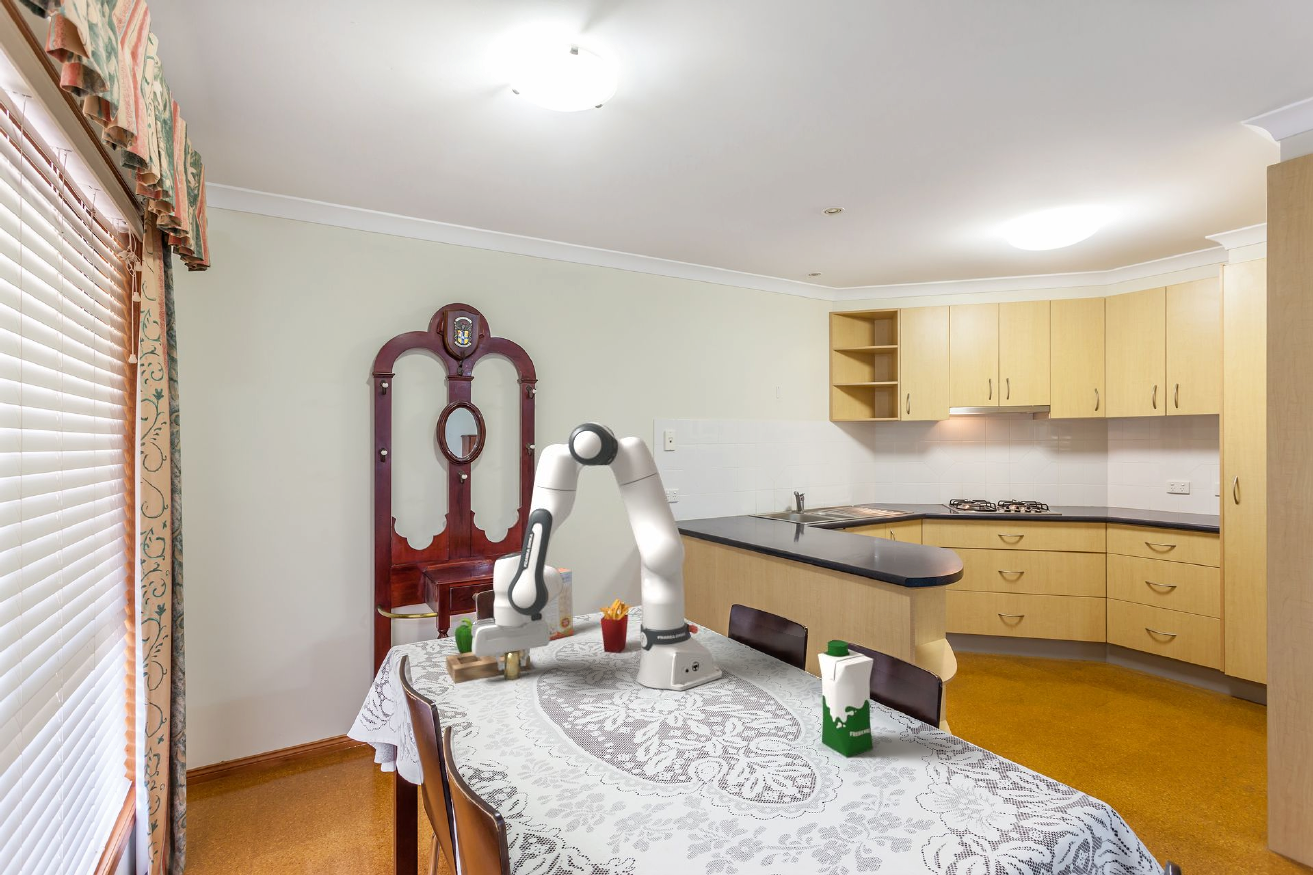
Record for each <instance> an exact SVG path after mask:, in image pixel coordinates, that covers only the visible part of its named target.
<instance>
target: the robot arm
mask: <svg viewBox="0 0 1313 875" xmlns="http://www.w3.org/2000/svg"><path fill="white" fill-rule="evenodd" d="M567 442H568V443H567V444H557V443H556V444H551V445H548V446H547V447H545V448H544V449H543V450H542V452H541V455H540V457H539V461H538V463H537V468H536V473H535V475H534V476H535V477H534V484H533V491H532V496H531V504H530V511H529V515H528V522H527V526H526V530H525V534H524V539H523V542H522V549H521V552H514V553H508V554H505V555H502V556H500V557H499V558H497V559H496V561H495V563H494V567H493V577H492V578H493V581H492V582H493V584H492V585H493V589H492V590H493V593H494V601H493V617H488V618H484V619H478V620H476V621H475V622H474V624H473V623H472V624H473V625H472V627H471V635H472V636H473V640H472V653H473V654H474V655H475V656H476V657H483V656H489V655H493V656H494V658H495V659H496V661H497V662H498V670H505V663H504V662H503V661H502V662H501V661H500V660H499V658H500V657H501V653H507V652H513V651H519V650H523V652H524V654H523V656H522V658H520V667H522V666H526V659H527V657H528V655H529V656H530V652H531V649H536V648H541V647H546V646H548V645H549V644H550V641H551V640H550V632H549V626H548V623H547V622H546V621H545V618H546V613H545V612H544V611H543V610H542V609H543V608H544V607H545V606H546V605H547V604H549V603H550V602H551V601H552V600H554V599H555V598H556V597H557V596H558V595H559V594H560V593H561V591H562V589H563V578H562V576H561V574H560V572H559V571H558V570H557V569H558V568H557V567H556V568H555V566H551V565H547V558H548V553H549V548H550V544H551V541H552V538H553V536H554V535H555V533H556V531H557V530H558V529H559V527H560V526H561V525H562V524H563V523H564V522H565V521H566V520H567V519H568V518H569V516H571V513H572V511H573V508H574V504H575V501H576V495H577V488H578V482H579V475H580V472H581V471H582V469H583V468H584V467H585V466H587V467H588V466H590V467H594V466H608V467H609V468H610V469H611V470H612V472H613V474H614V477H615V480H616V483H617V486H618V490H619V493H620V496H621V498H622V501H623V505H624V507H625V511H626V513H627V517H628V520H629V523H630V526H631V529H632V533H633V537H634V538H635V539H634V540H635V543H636V545H637V548H638V551H639V554H640V580H641V581H640V587H641V588H640V589H641V591H640V592H641V624H640V631H639V632H640V634H639V635H640V636H639V638H640V647H641V651H640V662H639V668H638V672H637V675H636V681H637V682H638V683H639V684H640V685H642V686H645V687H648V688H653V689H662V690H663V689H666V690H667V689H668V690H673V691H685V690H689V689H690V688H694V687H697V686H700V685H702V684H705V683H710V682H712V681H715V680H717V679H720V678H723V671H722V669H721V668H720V667H719V666H718V665H716V664H714V659H713V656H712V653H711V651H710V650H709V648H707V647H706V646H705V645H703V644H702V643H700V641H698V640H697V639H695V638H694V637H693V636H692V634H693V635H696V634H697V633H698V632H699V626H697V625H695V624H689V623H687V622H686V621H685V589H684V588H685V587H684V577H683V564H684V561H685V558H686V549H685V546H684V542H683V540H682V537H681V533H680V532H679V528H678V525H677V522H676V520H675V517H674V514H673V511H672V508H671V506H670V502H669V500H668V496H667V493H666V491H665V488H664V485H663V482H662V480H661V478H662V477H660V473H659V470H658V467H657V464H656V462H655V459H654V457H653V456H652V453H651V451H650V449H649V448H648V446H647V443H646V442H645V441H644V440H643V439H642V438H640V437H637V436H636V437H635V436H627V437H624V438H617V437H616V436H615V435H614V432H613V431H612V429H610V427H608V426H607V425H606V424H605V425H604V424H602V423H600V422H596V421H595V422H594V421H591V422H586V423H582V424H580V425H578V426H576V427H575V428H574V429H573V430H572V431H571V434H570V435H569V438H568V441H567Z"/></svg>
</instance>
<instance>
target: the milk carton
mask: <svg viewBox="0 0 1313 875" xmlns="http://www.w3.org/2000/svg"><path fill="white" fill-rule="evenodd" d="M817 657H818V661H819V667H820V672H821V685H822V686H821V687H822V688H821V689H822V698H821V699H822V728H821V729H822V731H821V743H822V744H824V745H826V746H827V747H828V748H830V749H832V750H834V751H835V752H837V753H839V754H841V755H842V756H844V757H845V758H849V757H851V756H854V755H857V754H861V753H863V752H867V751H870V750H874V746H873V737H872V728H871V727H872V726H871V707H870V706H871V704H870V702H871V700H870V699H871V698H870V697H871V696H870V695H871V694H870V692H871V691H870V690H871V689H870V679H871V674H872V668H873V664H874V658H871V657H868V656H866V655H865V654H863V653H859V652H858V651H857V652H856V651H854V650H851V649H849V644H848V642H846V641H843V640H829V641H828V642H827V651H826V652H825V651H823V652H822V653H819V654H817Z"/></svg>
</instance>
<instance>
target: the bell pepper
mask: <svg viewBox="0 0 1313 875" xmlns="http://www.w3.org/2000/svg"><path fill="white" fill-rule="evenodd" d="M460 621H461V622H462V623H466V625H465V624H461V625H460V626H458V627H456V629H455V631H454V640H455V643H456V646H457V650H458V652H459V654H463V653H469V652H472V640H473V636H472V635H471V627H472V625H473V624H474V623H475V622H474V623H472V622H471V620H470V619H468V618H462V619H460Z"/></svg>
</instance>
